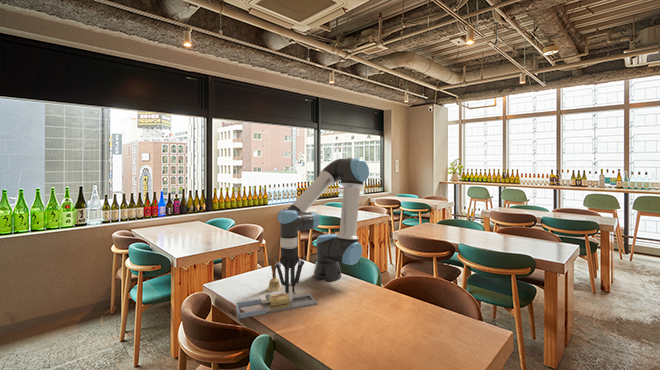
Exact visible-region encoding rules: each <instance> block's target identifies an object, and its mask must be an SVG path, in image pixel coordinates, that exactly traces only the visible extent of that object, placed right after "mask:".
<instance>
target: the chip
mask: <svg viewBox="0 0 660 370" xmlns="http://www.w3.org/2000/svg"><path fill="white" fill-rule="evenodd" d="M268 300H269V306H270V307H276V306H280V299H279V297H271V298H269V299H268Z"/></svg>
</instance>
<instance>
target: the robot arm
mask: <svg viewBox="0 0 660 370" xmlns="http://www.w3.org/2000/svg"><path fill="white" fill-rule="evenodd" d="M369 176H370V168H369V165H368V164H367V161H365V160H364V159H362V158H356V157H353V158H352V157H351V158H338V159H335V160H333V161H332V162H330V163H328V164H327V165H326V166H325V167H324V168H323V169H321V171H320V172H319V175H318V176H317V177H316V178H315V180H313V182H312V183H311V184H310V185H309V186H308V187H307V188H306V189H305V190H304V191H303V192H302V193H301V194H300V195H299V196H298V197H297V198H296V199H295V201H293V203H292V204H291V205H290V206H289V207H288V208H285V209H284V208H282V209H280V210H279V212H278V213H277V221H278V223H279V224H280V225H279V226H280V227H279V229H280V230H279V231H280V232H279V233H280V258H279V261H278V262H276V263H275V266H276V270H277V274H278V279H279V283H280V285H282V286H284V291H285V292H284V293H287V296H288V297H289V301H292V295H293V294H292V292H296V291H295V286H296V285H297V284H299V281H300V277H301V273H302V268H303V266H304V264H305V261H304V260H303V259H300V256H299V247H298V246H299V232H302V231H307V230H314V229H316V228H318V227H319V226H320V220H321V219H320V216H319V214H318V213H317V212H315V211H312V212H311V211H308V210H309V209H310V208H311V206H313V204H314V203H315V202H316V201H317V200H318V199H319V197H321V195H322V194H323V193H324V192H325V191H326V190H327V189H328V188H329V187H330V186H333V185H335V183H336V182H339V181H340V185H341V186H342V187H343V190H342V191H343V192H342V198H341V199H342V200H341V201H342V202H341V212H340V223H339V224H340V226H339V233H338V234H337V233H326V234H320V235H318V236H317V238H316V264H315V267H314V270H313V278H314V279H315V280H317V281H325V282H335V281H338V280H339V279H341V278H342V271H341V270H342V269H341V267H340V264H339V263H341V264H345V265H349V266H350V265H351V266H352V265H355V264H357V263H358V262H359V260H360V259H361V257H362V255H363V246H362V244H361V243H360V242H359V238H360V237H359V236H358V235H357V226H358V218H359V217H358V214H359V206H360V193H361V191H360V190H361V188H362V187H363V186H364V183H365V182H366V181H367V179H368V178H369ZM307 211H308V212H307ZM282 266H283V268H284V274H283V272H282V269H281V267H282ZM296 266H297V267H296ZM295 270H296V273H295ZM283 275H284V276H283Z"/></svg>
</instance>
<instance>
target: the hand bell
mask: <svg viewBox="0 0 660 370" xmlns="http://www.w3.org/2000/svg"><path fill="white" fill-rule="evenodd" d="M275 263H277V261H276V258H274V257H273V258H272V259H271V263H270V268H271V271H272V273H271V275H272V278H271V279H270V280H269V283H268V286H267V288H266V290H267V291H269V292H279V291H281V290H282V289H283V288H282V286H281V283H280V278H277V275H276V273H277V271H276V270H277V268H276V266H275Z"/></svg>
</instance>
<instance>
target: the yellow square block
mask: <svg viewBox="0 0 660 370" xmlns="http://www.w3.org/2000/svg"><path fill="white" fill-rule="evenodd" d="M278 297H279V299H280V306H281V305H287V304H290V302H289V297H288V295H284V296H278Z"/></svg>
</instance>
